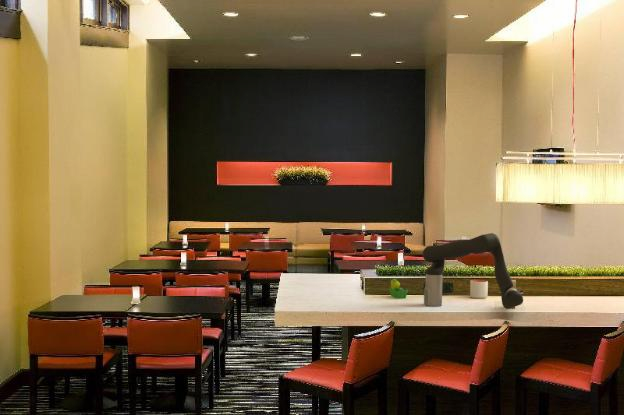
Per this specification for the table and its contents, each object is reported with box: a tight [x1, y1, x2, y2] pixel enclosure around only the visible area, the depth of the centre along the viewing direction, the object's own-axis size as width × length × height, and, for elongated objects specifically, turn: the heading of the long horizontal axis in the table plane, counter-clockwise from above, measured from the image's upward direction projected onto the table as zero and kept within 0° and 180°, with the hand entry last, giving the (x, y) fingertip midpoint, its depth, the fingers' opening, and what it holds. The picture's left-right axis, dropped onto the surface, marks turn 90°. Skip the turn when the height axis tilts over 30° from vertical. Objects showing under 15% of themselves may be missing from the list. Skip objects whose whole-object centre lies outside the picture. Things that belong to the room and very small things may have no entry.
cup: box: [469, 279, 489, 300], centre depth 482 cm, size 10×10×10 cm
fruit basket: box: [388, 278, 409, 300], centre depth 478 cm, size 11×9×11 cm
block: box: [509, 279, 517, 310], centre depth 446 cm, size 5×5×15 cm
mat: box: [494, 300, 526, 311], centre depth 454 cm, size 24×16×1 cm, turn 168°
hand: (510, 289), depth 442 cm, fingers closed
